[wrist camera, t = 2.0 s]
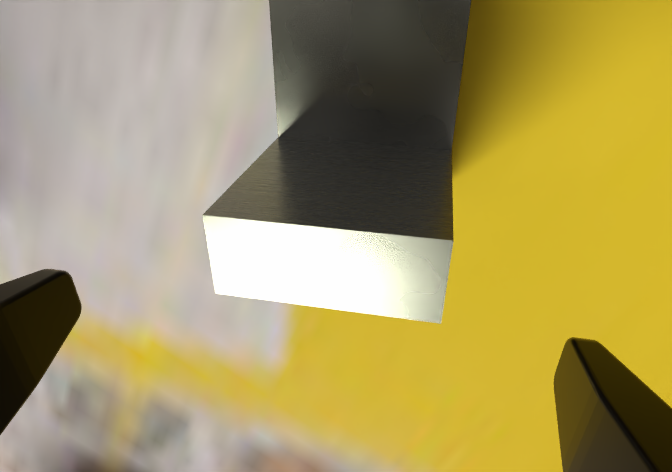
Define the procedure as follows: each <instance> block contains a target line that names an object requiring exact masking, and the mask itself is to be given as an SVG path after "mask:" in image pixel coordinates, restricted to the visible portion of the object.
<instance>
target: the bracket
mask: <svg viewBox="0 0 672 472" xmlns="http://www.w3.org/2000/svg"><path fill="white" fill-rule="evenodd" d="M269 5H270V20H271V35H272V50H273V65H274V81H275V96H276V111H277V126H278V138H277V139H276V140H275V141H274V142H273V143H272V144H271V145H270V146H269V147H268V148H267V150H266V151H265V152H264V153H263V154H262V155H261V156H260V157H259V158H258V159H257V160H256V161H255V162H254V163H253V164H252V165H251V166H250V167H249V168H248V169H247V170H246V171H245V172H244V173H243V174H242V175H241V176H240V177H239V178H238V179H237V180H236V181H235V182H234V183H233V184H232V185H231V186H230V187H229V188H228V189H227V190H226V191H225V192H224V194H223V195H222V196H221V197H220V198H219V199H218V200H217V201H216V202H215V203H214V204H213V205H212V206H211V207H210V208H209V209H208V210H207V211H206V212H205V213H204V214H203V215H202V216H203V222H204V228H205V234H206V240H207V246H208V252H209V258H210V264H211V270H212V276H213V282H214V288H215V293H216V294H223V295H231V296H238V297H246V298H253V299H261V300H268V301H276V302H283V303H291V304H298V305H306V306H313V307H320V308H328V309H335V310H343V311H350V312H358V313H365V314H373V315H380V316H388V317H395V318H403V319H410V320H418V321H425V322H433V323H440V324H441V320H442V313H443V307H444V300H445V293H446V287H447V280H448V273H449V266H450V260H451V253H452V246H453V198H452V142H453V135H454V127H455V119H456V112H457V104H458V97H459V89H460V81H461V74H462V66H463V58H464V51H465V43H466V36H467V28H468V20H469V13H470V5H471V0H269Z"/></svg>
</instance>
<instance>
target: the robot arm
mask: <svg viewBox="0 0 672 472" xmlns="http://www.w3.org/2000/svg"><path fill="white" fill-rule="evenodd" d="M80 314H81V302H80V299H79V296H78V294H77V291H76V288H75V285H74V282H73V279H72V277H71V275H70V274H69V273H68V272H66V271H62V270H55V269H43V270H40V271H37V272H34V273H32V274H29V275H26V276H23V277H20V278H17V279H15V280H12V281H9V282H6V283H3V284H0V435H1V434H2V432H3V431H4V430H5V428H6V427H7V425H8V424H9V423H10V421H11V420H12V419H13V417H14V416H15V415H16V413H17V412H18V411H19V409H20V408H21V407H22V405H23V404H24V403H25V401H26V400H27V399H28V397H29V396H30V395H31V393H32V392H33V390H34V389H35V388H36V386H37V385H38V383H39V382H40V380H41V379H42V377H43V375H44V374H45V372H46V371H47V369H48V367H49V366H50V364H51V362H52V361H53V359H54V358H55V356H56V354H57V353H58V351H59V349H60V348H61V346H62V345H63V343H64V341H65V340H66V338H67V336H68V335H69V333H70V332H71V330H72V328H73V327H74V325H75V323H76V322H77V320H78V318H79V316H80ZM554 394H555V403H556V412H557V421H558V430H559V439H560V449H561V458H562V466H563V472H672V408H671V407H670V406H669V405H668V404H667V403H665V402H664V401H663V400H662V399H661V398H660V397H659V396H658V395H657V394H656V393H654V392H653V391H652V390H651V389H650V388H649V387H648V386H647V385H646V384H645V383H643V382H642V381H641V380H640V379H639V378H638V377H637V376H636V375H635V374H634V373H632V372H631V371H630V370H629V369H628V368H627V367H626V366H625V365H624V364H623V363H621V362H620V361H619V360H618V359H617V358H616V357H615V356H614V355H613V354H612V353H610V352H609V351H608V350H607V349H606V348H605V347H604V346H603V345H602V344H600V343H599V342H597V341H595V340H590V339H582V338H574V337H572V338H570V339H568V340H567V341H566V343H565V345H564V348H563V351H562V354H561V357H560V360H559V363H558V366H557V369H556V372H555V376H554Z"/></svg>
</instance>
